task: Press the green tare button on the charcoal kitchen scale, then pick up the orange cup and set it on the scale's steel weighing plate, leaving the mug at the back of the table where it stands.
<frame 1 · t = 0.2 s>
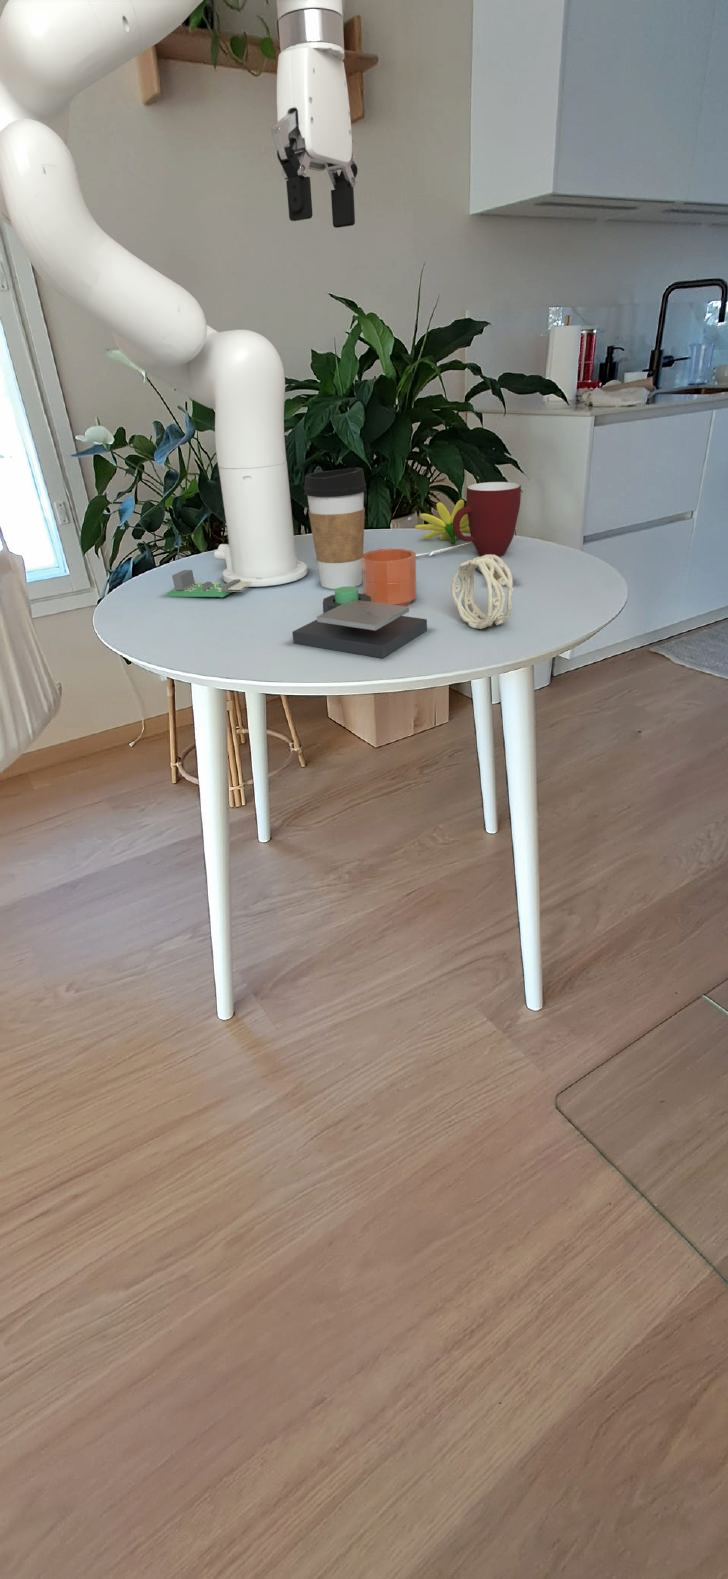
hand: (323, 223, 98), 43 cm above the table, tool pointing down, fingers open, 9 cm apart
silver knife: (484, 542, 122), point 1 cm above the table
bracelet: (481, 627, 89), on the table
scale: (360, 637, 88), on the table
coffee cup: (341, 585, 108), on the table
mug: (484, 556, 118), on the table
tare button: (346, 596, 90), point 3 cm above the table, slide at 0.1 cm
orange cup: (390, 601, 99), on the table
flower: (420, 524, 122), point 4 cm above the table
circuit board: (220, 578, 109), point 1 cm above the table
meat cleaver: (506, 570, 108), on the table
weighing plate: (364, 642, 86), resting on scale
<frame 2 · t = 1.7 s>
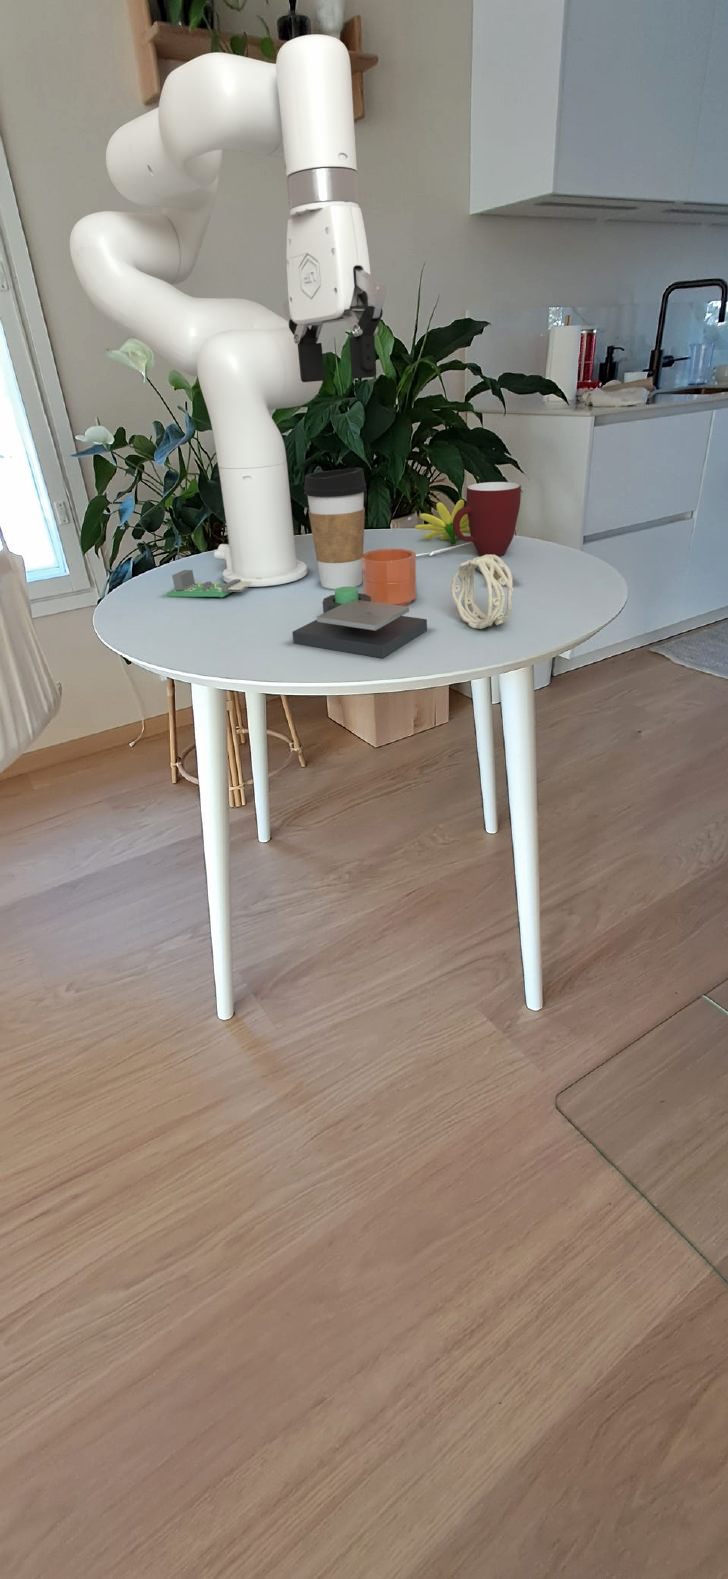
hand: (337, 379, 89), 26 cm above the table, tool pointing down, fingers open, 9 cm apart
nothing on the table moved.
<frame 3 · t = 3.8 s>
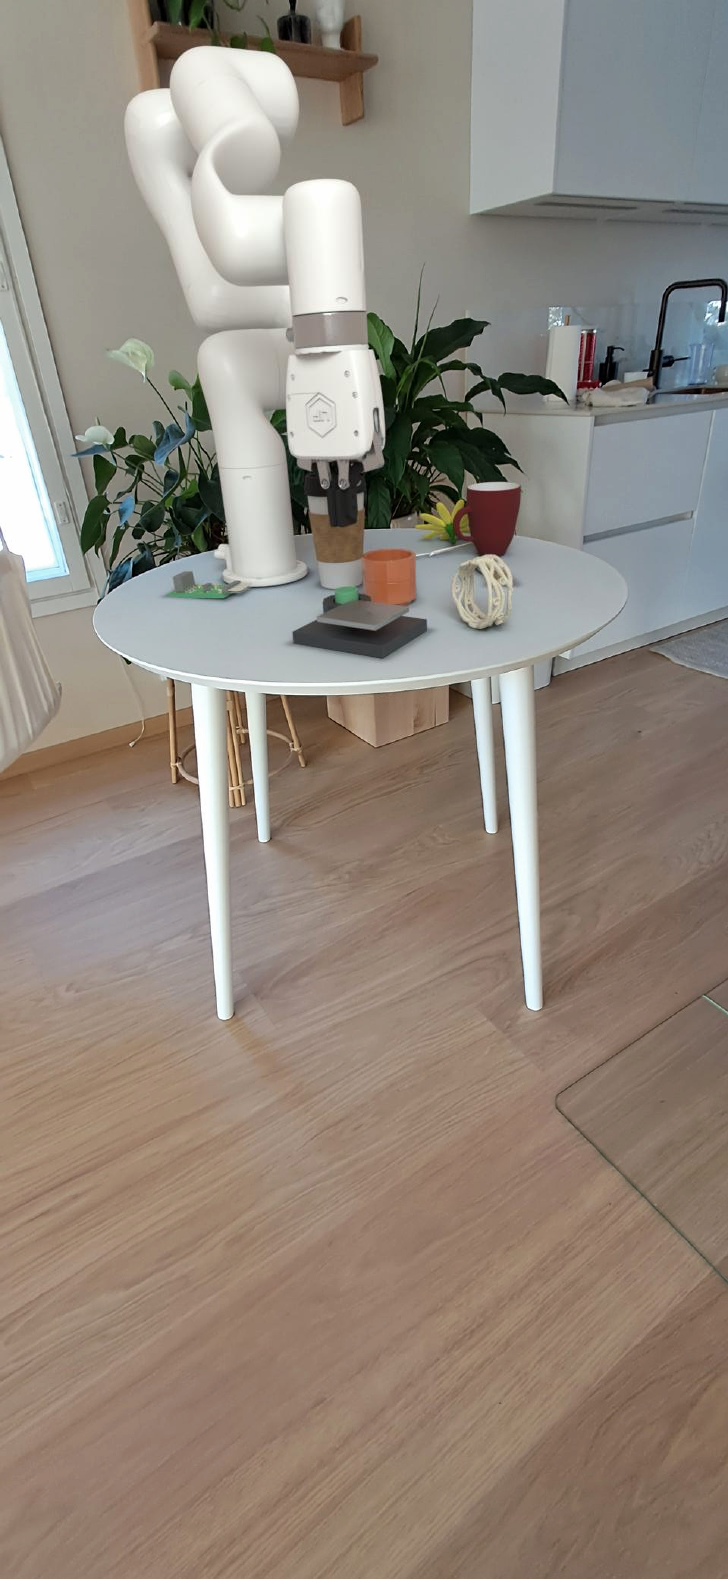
hand: (343, 524, 86), 12 cm above the table, tool pointing down, fingers closed
nothing on the table moved.
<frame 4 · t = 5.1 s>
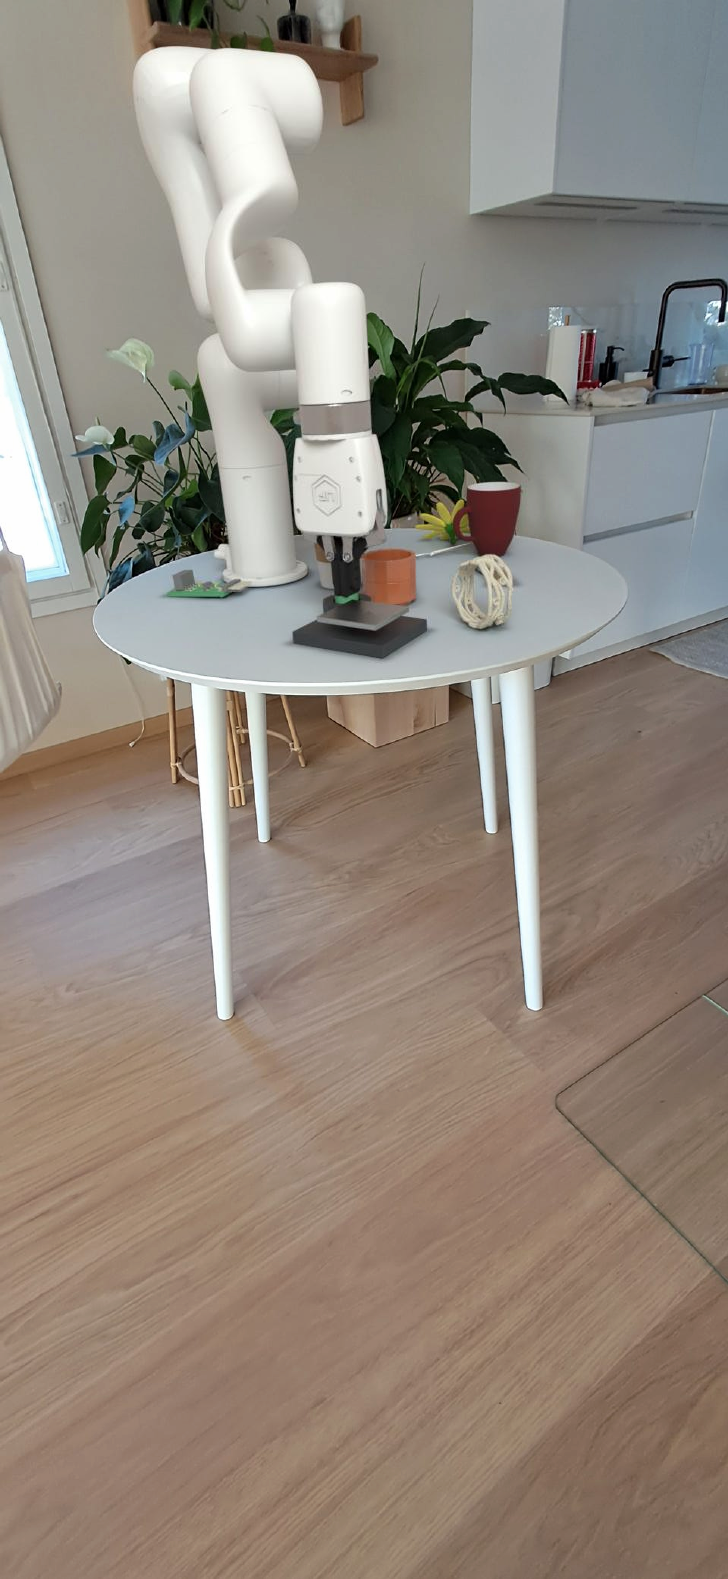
hand: (347, 593, 90), 4 cm above the table, tool pointing down, fingers closed
tare button: (346, 599, 91), point 3 cm above the table, slide at -0.3 cm, touching gripper
everything else where it was.
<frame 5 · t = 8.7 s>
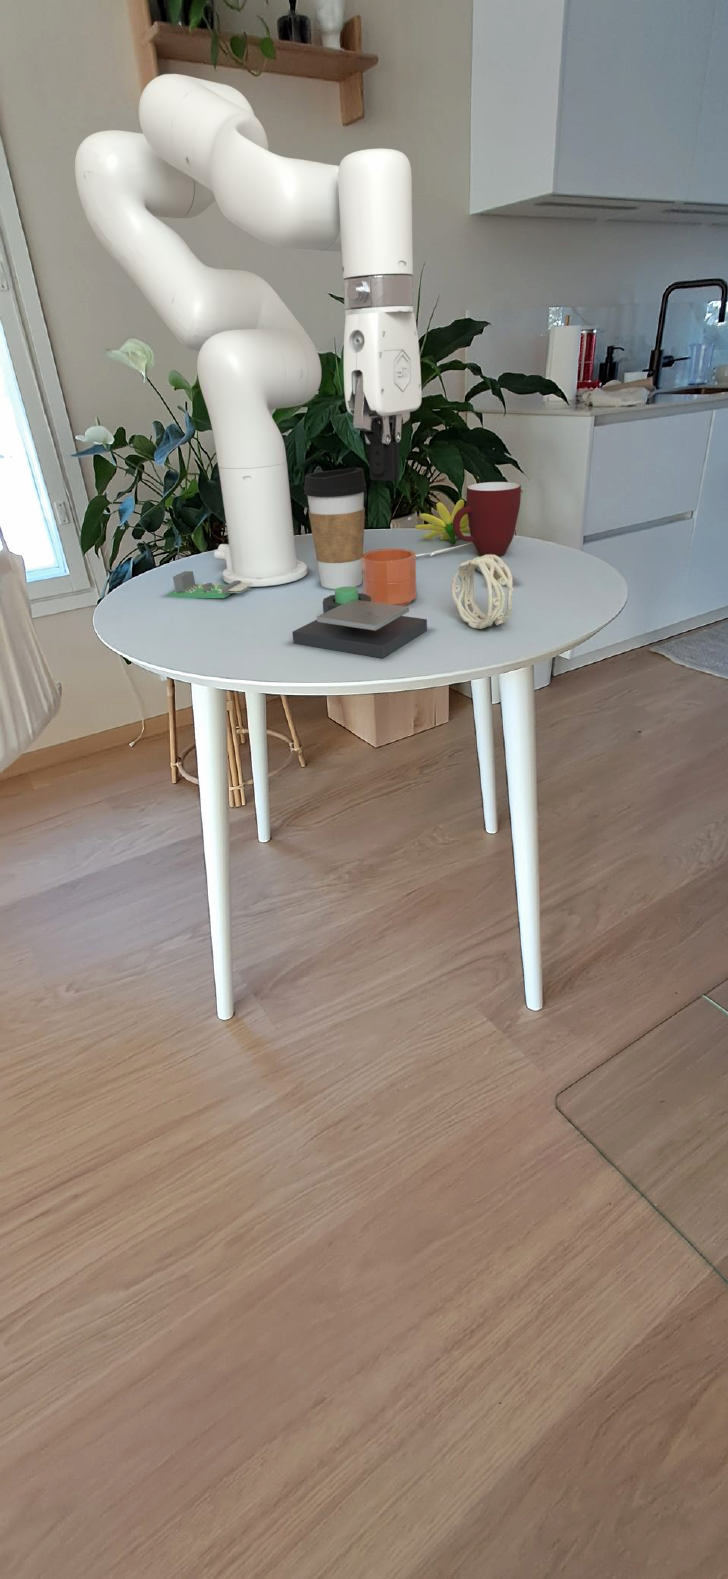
hand: (384, 479, 92), 15 cm above the table, tool pointing down, fingers closed
tare button: (346, 596, 90), point 3 cm above the table, slide at 0.1 cm
everything else where it was.
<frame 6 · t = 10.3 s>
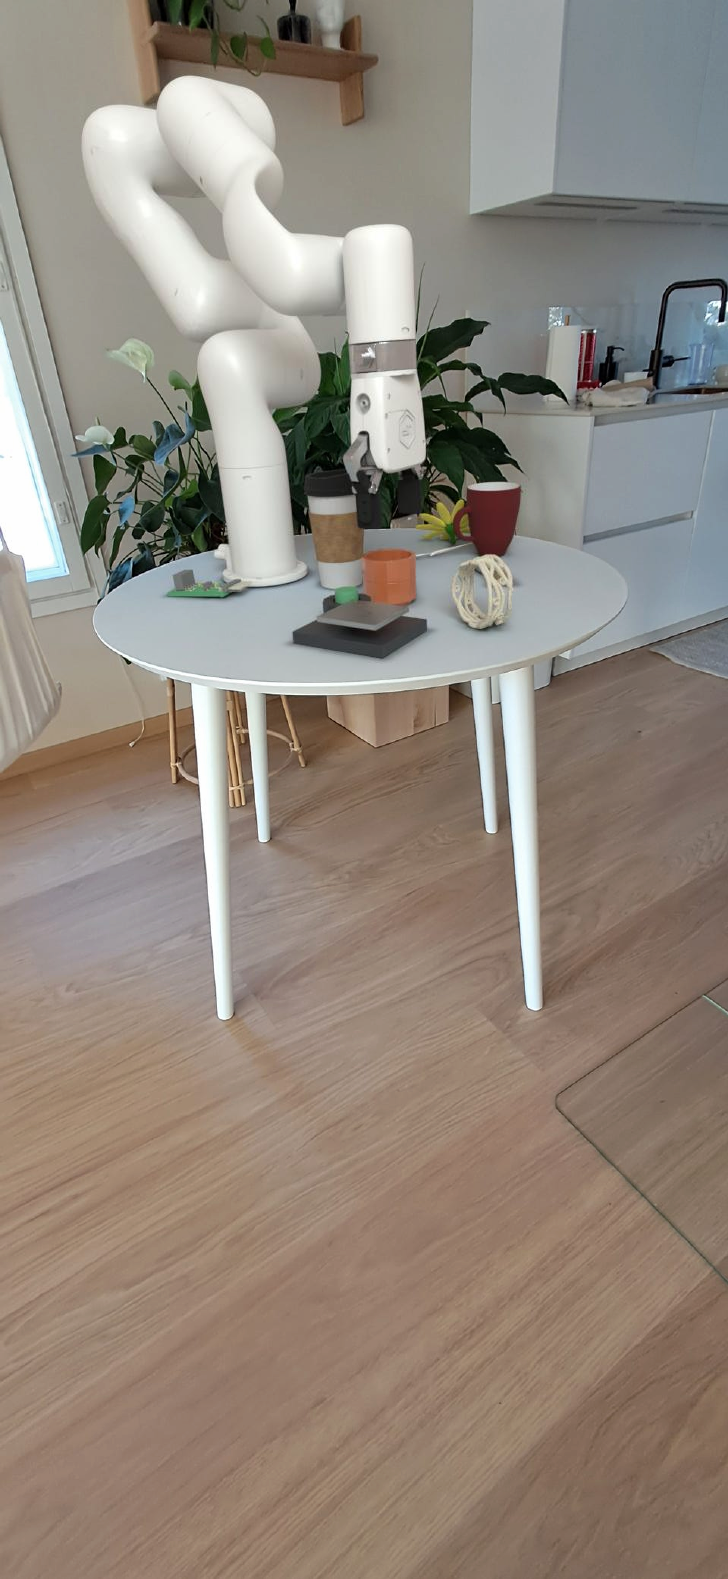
hand: (391, 520, 94), 10 cm above the table, tool pointing down, fingers open, 9 cm apart
nothing on the table moved.
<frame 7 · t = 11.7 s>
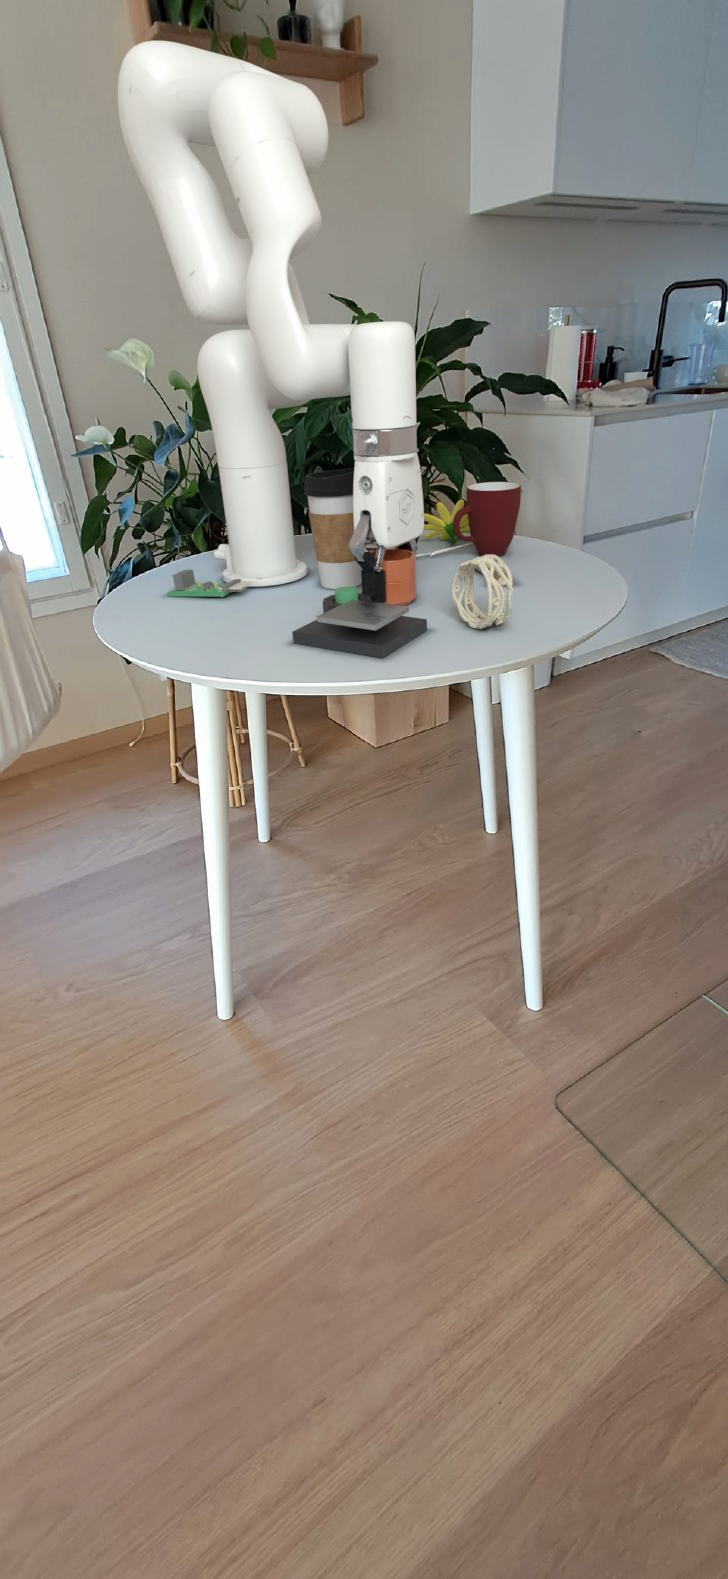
hand: (390, 592, 99), 1 cm above the table, tool pointing down, fingers closed on orange cup, 7 cm apart
orange cup: (390, 601, 99), on the table, touching gripper
everything else where it was.
when the fingers open (5 cm above the table, at t = 19.5 s): orange cup stays where it is, resting on weighing plate.
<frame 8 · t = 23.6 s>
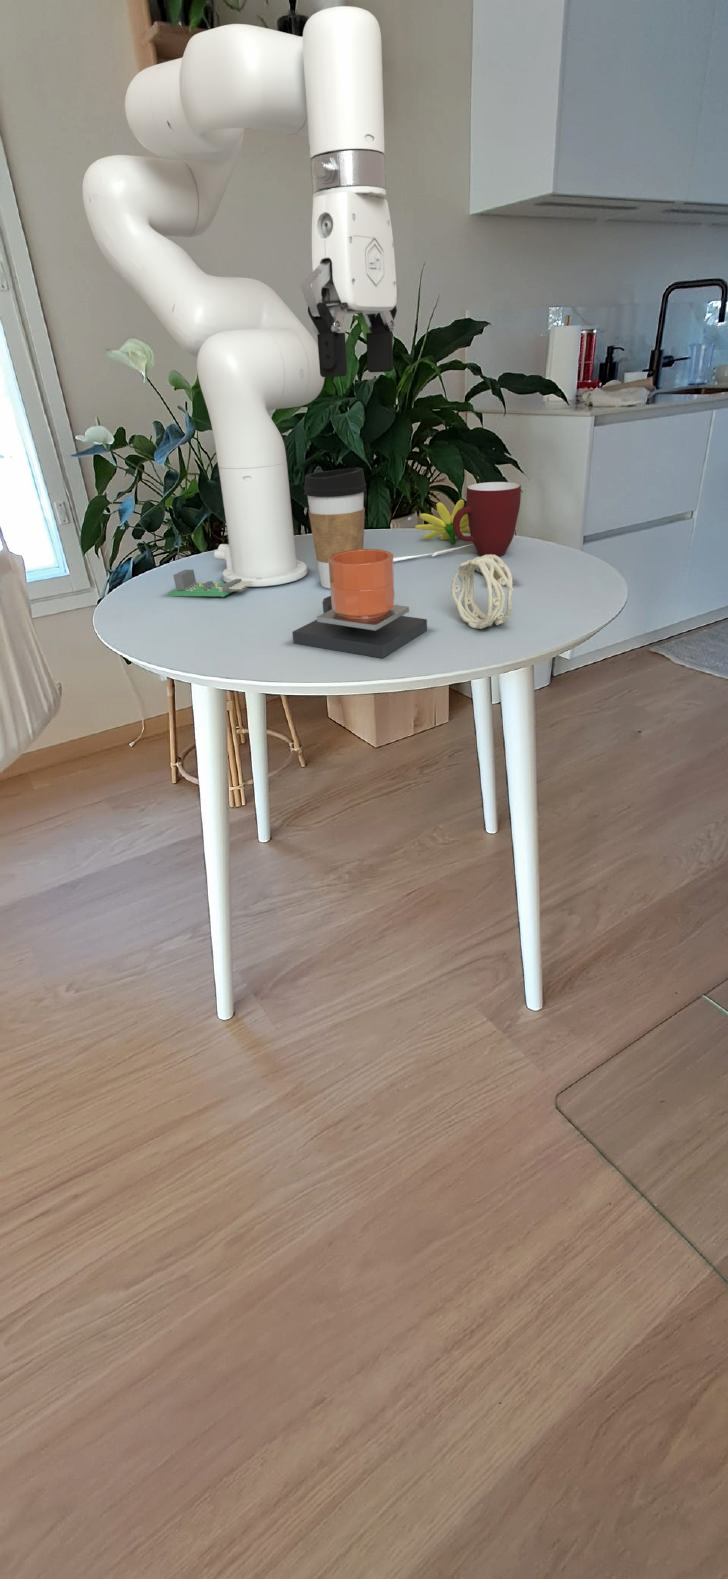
hand: (358, 374, 86), 26 cm above the table, tool pointing down, fingers open, 9 cm apart
orange cup: (363, 611, 84), point 4 cm above the table, touching weighing plate
everything else where it was.
at the end: tare button pushed in 0.9 cm at the most during the clip, back to where it started at the end; orange cup 0.1 cm off-centre on the weighing plate, point 3.6 cm above the weighing plate's base; mug moved 0.2 cm from its start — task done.
